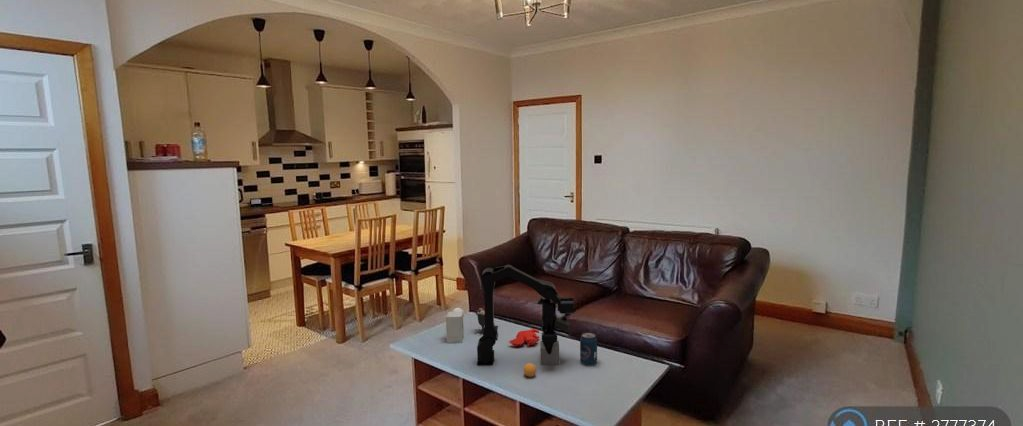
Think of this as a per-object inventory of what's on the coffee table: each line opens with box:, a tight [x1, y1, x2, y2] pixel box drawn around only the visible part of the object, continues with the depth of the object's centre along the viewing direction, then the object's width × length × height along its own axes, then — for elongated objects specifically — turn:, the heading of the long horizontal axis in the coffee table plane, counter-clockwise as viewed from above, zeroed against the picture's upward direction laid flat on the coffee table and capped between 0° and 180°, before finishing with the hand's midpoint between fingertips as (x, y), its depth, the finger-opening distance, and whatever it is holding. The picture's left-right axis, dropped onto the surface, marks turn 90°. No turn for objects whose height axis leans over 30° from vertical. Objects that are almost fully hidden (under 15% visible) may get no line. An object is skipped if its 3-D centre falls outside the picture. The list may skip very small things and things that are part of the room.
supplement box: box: [445, 311, 465, 344], centre depth 226 cm, size 7×7×13 cm
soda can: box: [579, 332, 598, 367], centre depth 199 cm, size 7×7×12 cm
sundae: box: [475, 304, 485, 335], centre depth 233 cm, size 7×7×15 cm
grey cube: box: [539, 340, 560, 366], centre depth 201 cm, size 8×8×7 cm
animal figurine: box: [508, 328, 540, 348], centre depth 220 cm, size 12×15×5 cm
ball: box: [522, 362, 537, 378], centre depth 189 cm, size 5×5×5 cm
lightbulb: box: [451, 307, 465, 318], centre depth 239 cm, size 6×6×11 cm
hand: (549, 349), depth 201 cm, fingers open, 9 cm apart
